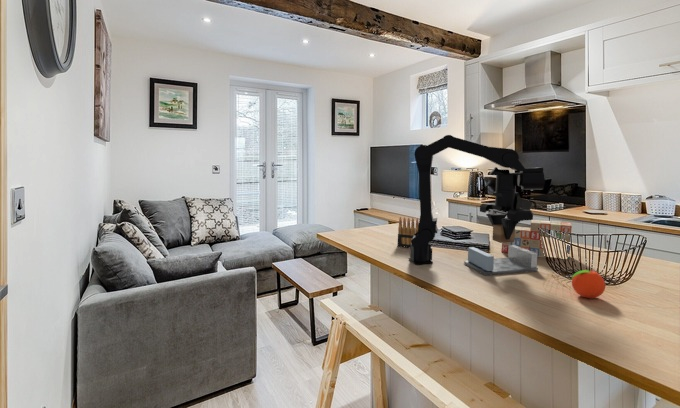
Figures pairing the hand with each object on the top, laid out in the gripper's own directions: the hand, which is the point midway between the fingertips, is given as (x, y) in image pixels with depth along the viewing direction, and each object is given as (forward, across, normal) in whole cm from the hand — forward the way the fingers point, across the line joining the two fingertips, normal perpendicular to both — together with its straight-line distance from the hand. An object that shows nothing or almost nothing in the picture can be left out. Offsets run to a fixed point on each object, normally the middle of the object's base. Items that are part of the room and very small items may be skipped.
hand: (503, 237), depth 111 cm
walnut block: (+1, 0, 0) cm, 1 cm away
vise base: (+10, 0, +1) cm, 10 cm away
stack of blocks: (+10, +10, -20) cm, 25 cm away
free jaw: (+9, 0, +8) cm, 12 cm away
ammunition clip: (+10, +31, +19) cm, 38 cm away
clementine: (+10, -26, -5) cm, 28 cm away
